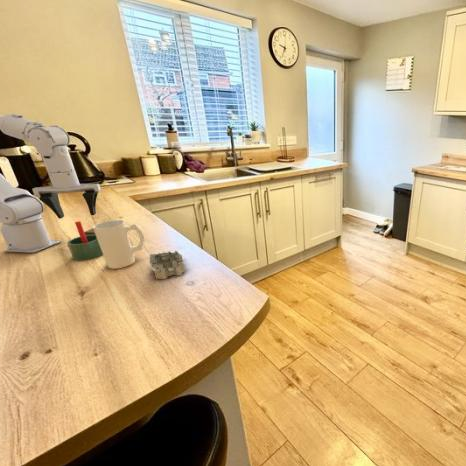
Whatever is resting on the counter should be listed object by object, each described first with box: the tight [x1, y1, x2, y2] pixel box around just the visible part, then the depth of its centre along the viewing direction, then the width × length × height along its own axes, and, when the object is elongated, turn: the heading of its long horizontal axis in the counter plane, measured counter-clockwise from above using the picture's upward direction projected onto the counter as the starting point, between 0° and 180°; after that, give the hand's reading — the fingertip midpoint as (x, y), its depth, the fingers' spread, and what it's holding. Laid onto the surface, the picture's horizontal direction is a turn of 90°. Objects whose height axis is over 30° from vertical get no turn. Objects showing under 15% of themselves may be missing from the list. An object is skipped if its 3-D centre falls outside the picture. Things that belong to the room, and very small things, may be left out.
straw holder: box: [84, 228, 96, 235], centre depth 98 cm, size 7×7×3 cm
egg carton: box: [149, 250, 186, 280], centre depth 78 cm, size 11×8×4 cm
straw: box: [74, 220, 88, 243], centre depth 84 cm, size 1×1×10 cm
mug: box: [92, 219, 145, 270], centre depth 80 cm, size 10×7×12 cm, turn 129°
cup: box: [67, 235, 104, 261], centre depth 85 cm, size 7×7×5 cm
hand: (77, 215), depth 87 cm, fingers open, 7 cm apart
